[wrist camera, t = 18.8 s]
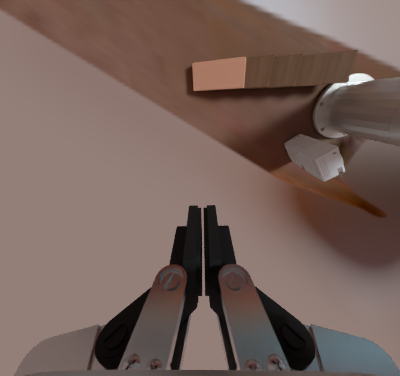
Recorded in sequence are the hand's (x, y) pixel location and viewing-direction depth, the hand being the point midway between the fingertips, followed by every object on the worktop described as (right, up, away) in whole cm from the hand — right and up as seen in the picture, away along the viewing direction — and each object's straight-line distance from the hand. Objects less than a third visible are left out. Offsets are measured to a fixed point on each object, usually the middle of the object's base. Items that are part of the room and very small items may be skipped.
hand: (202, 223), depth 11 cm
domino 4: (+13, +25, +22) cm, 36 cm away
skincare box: (+24, +12, +30) cm, 40 cm away
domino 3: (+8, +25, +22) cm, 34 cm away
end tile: (-1, +25, +22) cm, 33 cm away
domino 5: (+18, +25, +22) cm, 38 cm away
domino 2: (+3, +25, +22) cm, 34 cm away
